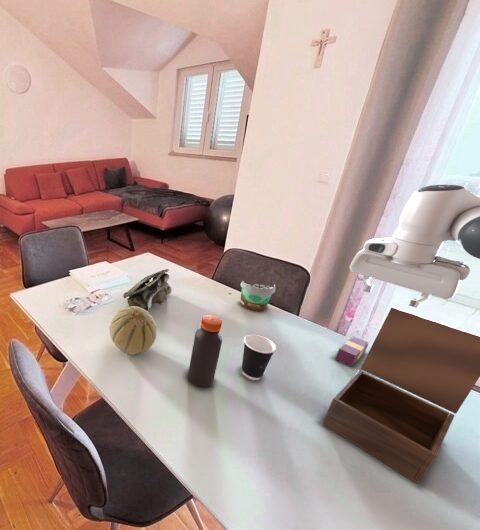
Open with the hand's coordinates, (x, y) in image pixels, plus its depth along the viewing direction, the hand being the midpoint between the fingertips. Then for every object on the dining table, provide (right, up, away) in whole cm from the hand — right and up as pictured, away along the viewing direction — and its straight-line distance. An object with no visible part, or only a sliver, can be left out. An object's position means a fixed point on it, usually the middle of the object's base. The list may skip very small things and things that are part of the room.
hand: (389, 298), depth 84 cm
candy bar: (+1, -19, +13) cm, 24 cm away
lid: (-5, -12, -13) cm, 19 cm away
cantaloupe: (-67, -18, +17) cm, 71 cm away
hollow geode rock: (-56, -7, +43) cm, 71 cm away
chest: (-14, -30, -11) cm, 35 cm away
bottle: (-49, -24, +5) cm, 55 cm away
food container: (-14, -8, +39) cm, 43 cm away
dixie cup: (-34, -23, +6) cm, 41 cm away
